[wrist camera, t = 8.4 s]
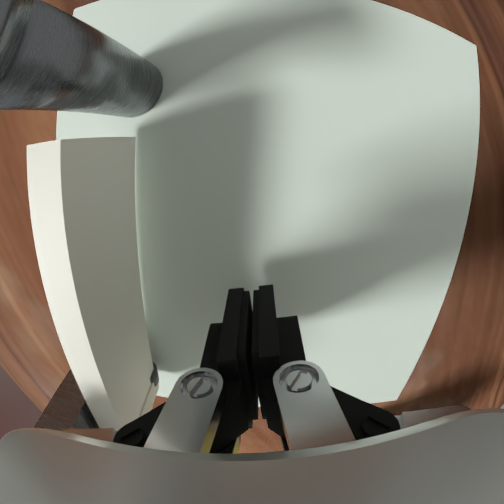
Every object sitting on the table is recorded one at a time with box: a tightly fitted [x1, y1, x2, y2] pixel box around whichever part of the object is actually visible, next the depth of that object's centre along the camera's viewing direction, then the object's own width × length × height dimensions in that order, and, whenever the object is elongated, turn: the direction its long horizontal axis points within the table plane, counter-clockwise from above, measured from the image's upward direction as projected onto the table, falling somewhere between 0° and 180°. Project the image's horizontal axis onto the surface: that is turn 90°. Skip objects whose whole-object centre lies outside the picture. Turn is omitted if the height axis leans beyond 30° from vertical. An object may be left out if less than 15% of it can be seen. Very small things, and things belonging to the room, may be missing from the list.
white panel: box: [27, 137, 159, 431], centre depth 9 cm, size 12×2×6 cm, turn 176°
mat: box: [56, 0, 480, 407], centre depth 11 cm, size 21×19×1 cm
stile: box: [34, 369, 99, 431], centre depth 10 cm, size 4×2×9 cm, turn 176°
